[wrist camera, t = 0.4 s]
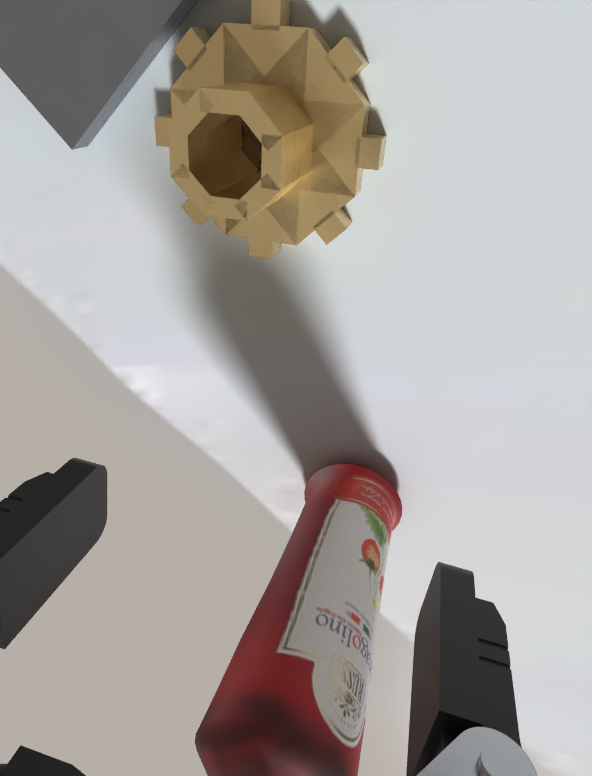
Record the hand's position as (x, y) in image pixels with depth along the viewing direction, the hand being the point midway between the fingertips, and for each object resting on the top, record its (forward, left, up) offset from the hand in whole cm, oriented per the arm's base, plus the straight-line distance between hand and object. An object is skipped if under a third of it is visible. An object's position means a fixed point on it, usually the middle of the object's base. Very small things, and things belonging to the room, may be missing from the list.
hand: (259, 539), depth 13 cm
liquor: (+12, +12, -22) cm, 28 cm away
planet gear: (+1, -9, -22) cm, 23 cm away
